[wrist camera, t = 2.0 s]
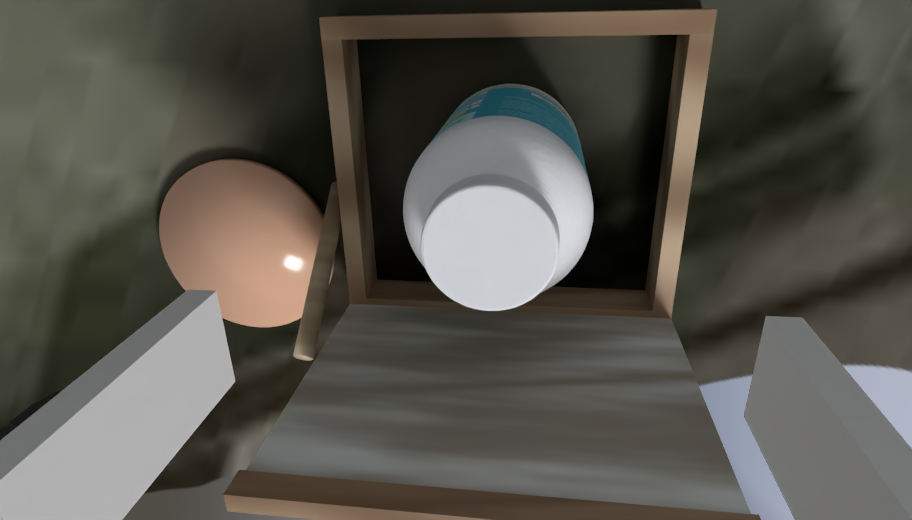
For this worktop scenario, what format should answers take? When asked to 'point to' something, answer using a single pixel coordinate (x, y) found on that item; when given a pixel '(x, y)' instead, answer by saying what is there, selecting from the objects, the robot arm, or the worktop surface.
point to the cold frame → (496, 348)
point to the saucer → (243, 239)
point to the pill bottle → (500, 199)
